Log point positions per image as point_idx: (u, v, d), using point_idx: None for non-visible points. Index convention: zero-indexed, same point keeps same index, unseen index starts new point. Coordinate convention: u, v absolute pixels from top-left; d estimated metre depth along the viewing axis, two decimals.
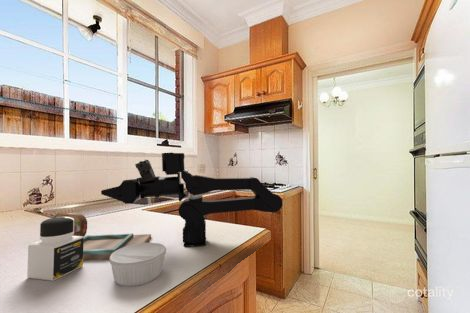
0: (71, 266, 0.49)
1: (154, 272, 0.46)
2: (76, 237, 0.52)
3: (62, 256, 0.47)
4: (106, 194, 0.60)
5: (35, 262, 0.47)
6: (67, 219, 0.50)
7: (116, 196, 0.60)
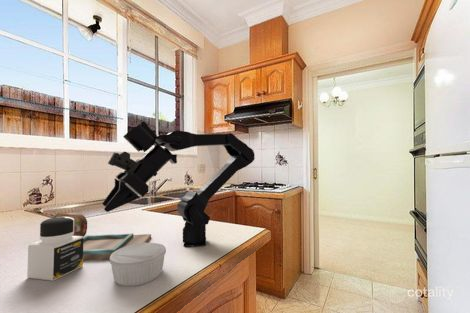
0: (71, 266, 0.49)
1: (154, 272, 0.46)
2: (76, 237, 0.52)
3: (62, 256, 0.47)
4: (113, 207, 0.52)
5: (35, 262, 0.47)
6: (67, 219, 0.50)
7: (125, 200, 0.53)
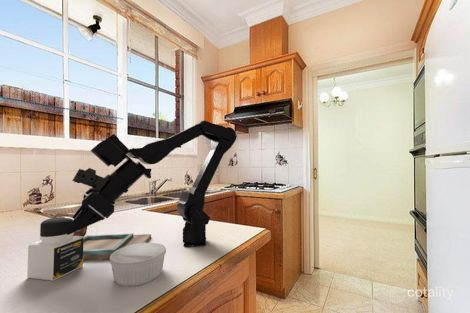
0: (71, 266, 0.49)
1: (154, 272, 0.46)
2: (76, 237, 0.52)
3: (62, 256, 0.47)
4: (74, 230, 0.48)
5: (35, 262, 0.47)
6: (67, 219, 0.50)
7: (88, 222, 0.48)
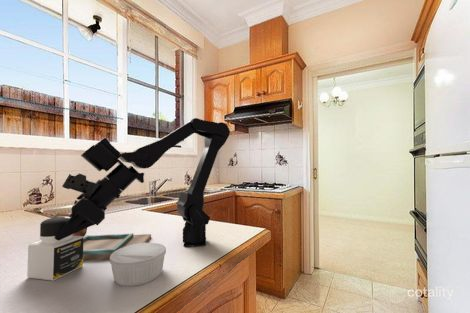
0: (71, 266, 0.49)
1: (154, 272, 0.46)
2: (76, 237, 0.52)
3: (62, 256, 0.47)
4: (64, 235, 0.48)
5: (35, 262, 0.47)
6: (67, 219, 0.50)
7: (78, 227, 0.49)
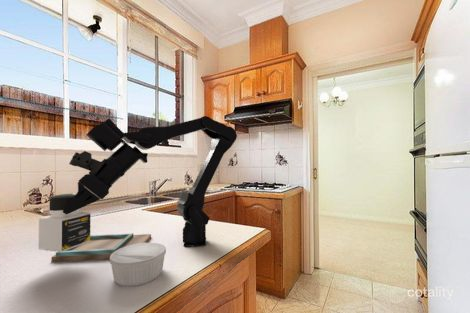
0: (79, 239, 0.52)
1: (154, 272, 0.46)
2: (83, 213, 0.54)
3: (70, 229, 0.50)
4: (72, 209, 0.50)
5: (45, 234, 0.49)
6: (74, 195, 0.52)
7: (85, 202, 0.51)
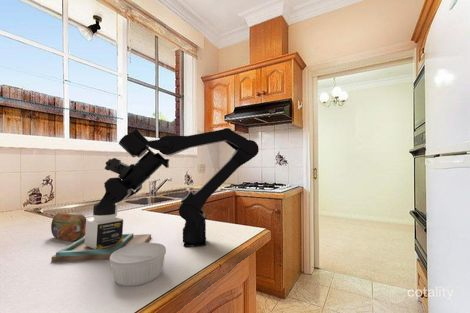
0: (111, 241, 0.62)
1: (154, 272, 0.46)
2: (117, 219, 0.64)
3: (104, 232, 0.60)
4: (102, 207, 0.59)
5: (88, 234, 0.61)
6: None
7: (111, 202, 0.59)
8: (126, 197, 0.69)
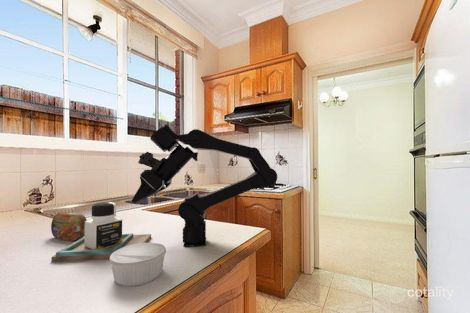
0: (111, 242, 0.62)
1: (154, 272, 0.46)
2: (116, 219, 0.64)
3: (103, 233, 0.60)
4: (137, 199, 0.61)
5: (87, 235, 0.61)
6: (109, 204, 0.63)
7: (146, 193, 0.61)
8: (157, 191, 0.71)
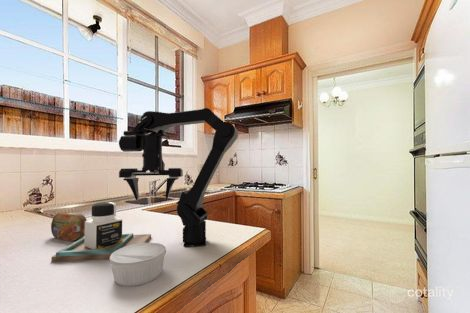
0: (111, 242, 0.62)
1: (154, 272, 0.46)
2: (116, 219, 0.64)
3: (103, 233, 0.60)
4: None
5: (87, 235, 0.61)
6: (109, 204, 0.63)
7: None
8: (166, 185, 0.70)
